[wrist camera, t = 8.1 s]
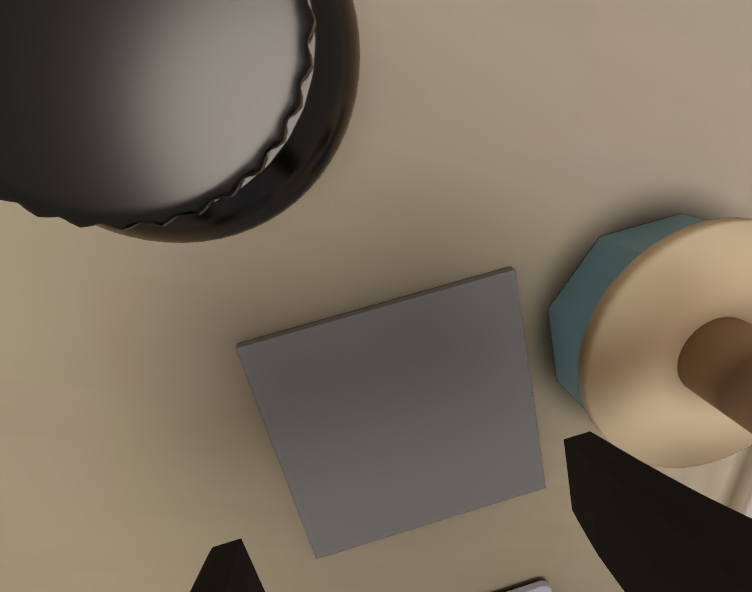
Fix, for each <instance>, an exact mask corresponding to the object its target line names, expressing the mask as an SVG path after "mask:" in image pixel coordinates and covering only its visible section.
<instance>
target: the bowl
mask: <svg viewBox="0 0 752 592" xmlns="http://www.w3.org/2000/svg"><path fill="white" fill-rule="evenodd" d="M703 221H706V220H703V219H699V218H696V217H692V216H688V215H685V214H678V215H675V216H671V217H668V218H664V219H661V220H657V221H654V222H650V223H647V224H643V225H639V226H636V227H632V228H629V229H625V230H622V231H618V232H615V233H611V234H607V235H604V236H600V237H599V239H598V240H597V242H596V243H595V244H594V246H593V247H592V249H591V250H590V251H589V253H588V254H587V256H586V257H585V258H584V260H583V261H582V263H581V264H580V265H579V267H578V268H577V270H576V271H575V272H574V274H573V275H572V277H571V278H570V279H569V281H568V282H567V283H566V285H565V286H564V288H563V289H562V290H561V292H560V293H559V295H558V296H557V297H556V299H555V300H554V302H553V303H552V304H551V306H550V307H549V309H548V311H549V319H550V327H551V336H552V344H553V353H554V361H555V369H556V378H557V381H558V382H559V383H560V384H561V385H562V386H563V387H564V388H565V389H566V390H567V391H568V392H569V393H570V394H571V395H572V396H573V397H574V398H575V400H576V401H577V402H578V403H579V404H580V405H581V406H582V407H583V408H584V406H583V403H582V399H581V396H580V392H579V385H578V359H579V352H580V347H581V343H582V339H583V336H584V332H585V330H586V327H587V325H588V322H589V320H590V317H591V315H592V313H593V312H594V310H595V308H596V306H597V304H598V302H599V301H600V299H601V297H602V296H603V295H604V293H605V292H606V290H607V289H608V287H609V286H610V285H611V283H612V282H613V281H614V280H615V279H616V278H617V276H618V275H619V274H620V273H621V272H622V271H623V269H624V268H626V267H627V266H628V265H629V264H630V263H631V262H632V261H633V260H634V259H635V258H636V257H637V256H639V255H640V254H641V253H642V252H644V251H645V250H646V249H648V248H649V247H650V246H652V245H653V244H655V243H656V242H658V241H660V240H661V239H663V238H665V237H666V236H668V235H670V234H672V233H674V232H676V231H678V230H681V229H683V228H685V227H687V226H690V225H694V224H697V223H700V222H703ZM584 409H585V408H584Z"/></svg>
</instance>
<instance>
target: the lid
mask: <svg viewBox="0 0 752 592" xmlns="http://www.w3.org/2000/svg"><path fill="white" fill-rule="evenodd" d="M578 385H579V392H580V396H581V399H582V403H583V406H584V408H585V410H586V412H587V414H588V416H589V418H590V420H591V421H592V422H593V424H594V425H595V426H596V428H597V429H598V430H599V431H600V432H601V433H602V434H603V435H604V436H605V437H606V438H607V439H608V440H609V441H610V442H611V443H612V444H613V445H614V446H616V447H618V448H619V449H621V450H623V451H625V452H626V453H628V454H630V455H631V456H633V457H635V458H637V459H638V460H640V461H642V462H644V463H645V464H648V465H652V466H656V467H664V468H685V467H693V466H699V465H703V464H708V463H712V462H715V461H717V460H720V459H723V458H726V457H728V456H730V455H733V454H735V453H737V452H739V451H741V450H743V449H745V448H746V447H748V446H750V445H752V219H749V218H740V217H732V218H718V219H713V220H708V221H703V222H700V223H697V224H694V225H690V226H687V227H685V228H683V229H681V230H678V231H676V232H674V233H672V234H670V235H668V236H666V237H665V238H663V239H661V240H660V241H658V242H656V243H655V244H653V245H652V246H650V247H649V248H648V249H646V250H645V251H644V252H642V253H641V254H640V255H639V256H637V257H636V258H635V259H634V260H633V261H632V262H631V263H630V264H629V265H628V266H627V267H626V268H624V269H623V271H622V272H621V273H620V274H619V275H618V276H617V278H616V279H615V280H614V281H613V282H612V283H611V285H610V286H609V287H608V289H607V290H606V292H605V293H604V295H603V296H602V297H601V299H600V301H599V302H598V304H597V306H596V308H595V310H594V312H593V313H592V315H591V317H590V320H589V322H588V325H587V327H586V330H585V332H584V336H583V339H582V343H581V347H580V352H579V359H578Z"/></svg>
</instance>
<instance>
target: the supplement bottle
mask: <svg viewBox="0 0 752 592" xmlns="http://www.w3.org/2000/svg"><path fill="white" fill-rule="evenodd" d="M359 65H360V46H359V32H358V24H357V16H356V11H355V7H354V2H353V0H0V200H4V201H10V202H16V203H18V204H20V205H21V206H22V207H24V208H25V209H26V210H28V211H29V212H31V213H32V214H34V215H35V216H37V217H60V218H63V219H65V220H67V221H68V222H69V223H71V224H74V225H76V226H78V227H89V226H95V225H96V226H99V227H101V228H104V229H106V230H109V231H112V232H115V233H119V234H122V235H125V236H129V237H134V238H139V239H143V240H149V241H158V242H171V243H190V242H204V241H210V240H216V239H221V238H225V237H229V236H233V235H237V234H239V233H242V232H245V231H247V230H250V229H253V228H255V227H257V226H259V225H261V224H263V223H265V222H267V221H269V220H271V219H272V218H274V217H275V216H277V215H279V214H280V213H282V212H283V211H285V210H286V209H287V208H289V207H290V206H291V205H293V204H294V203H295V202H296V201H297V200H299V199H300V198H301V197H302V196H303V195H304V194H305V193H306V192H307V191H308V190H309V189H310V188H311V187H312V186H313V184H314V183H315V182H316V181H317V180H318V179H319V178H320V176H321V175H322V173H323V172H324V171H325V169H326V168H327V166H328V165H329V164H330V162H331V160H332V158H333V157H334V155H335V153H336V151H337V150H338V148H339V146H340V144H341V141H342V139H343V137H344V135H345V132H346V130H347V127H348V124H349V121H350V118H351V115H352V111H353V107H354V103H355V99H356V94H357V87H358V80H359Z"/></svg>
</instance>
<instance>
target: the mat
mask: <svg viewBox="0 0 752 592" xmlns="http://www.w3.org/2000/svg"><path fill="white" fill-rule="evenodd" d="M236 349H237V352H238V355H239V357H240V360H241V363H242V365H243V368H244V370H245V373H246V376H247V378H248V381H249V384H250V386H251V389H252V391H253V394H254V397H255V399H256V402H257V405H258V407H259V410H260V412H261V415H262V418H263V420H264V423H265V426H266V428H267V431H268V433H269V436H270V439H271V441H272V444H273V447H274V449H275V452H276V454H277V457H278V460H279V462H280V465H281V468H282V470H283V473H284V475H285V478H286V481H287V483H288V486H289V489H290V491H291V494H292V496H293V499H294V502H295V504H296V507H297V510H298V512H299V515H300V517H301V520H302V523H303V525H304V528H305V531H306V533H307V536H308V538H309V541H310V544H311V546H312V549H313V552H314V554H315V557H316V559H318V558H322V557H325V556H328V555H331V554H334V553H338V552H341V551H344V550H347V549H350V548H354V547H357V546H360V545H363V544H366V543H370V542H373V541H376V540H379V539H383V538H386V537H389V536H392V535H395V534H399V533H402V532H405V531H408V530H411V529H415V528H418V527H421V526H424V525H427V524H431V523H434V522H437V521H440V520H443V519H447V518H450V517H453V516H456V515H459V514H463V513H466V512H469V511H472V510H475V509H479V508H482V507H485V506H488V505H491V504H495V503H498V502H501V501H504V500H507V499H511V498H514V497H517V496H520V495H523V494H527V493H530V492H533V491H536V490H539V489H543V488H546V485H545V477H544V470H543V463H542V456H541V449H540V442H539V435H538V428H537V421H536V414H535V406H534V399H533V392H532V385H531V378H530V371H529V364H528V357H527V350H526V343H525V336H524V328H523V321H522V314H521V307H520V300H519V293H518V286H517V279H516V272H515V269H514V268H512V267H508V268H504V269H501V270H497V271H494V272H490V273H486V274H483V275H479V276H476V277H472V278H469V279H465V280H462V281H458V282H455V283H451V284H447V285H444V286H440V287H437V288H433V289H430V290H426V291H423V292H419V293H416V294H412V295H409V296H405V297H401V298H398V299H394V300H391V301H387V302H384V303H380V304H377V305H373V306H370V307H366V308H362V309H359V310H355V311H352V312H348V313H345V314H341V315H338V316H334V317H331V318H327V319H324V320H320V321H316V322H313V323H309V324H306V325H302V326H299V327H295V328H292V329H288V330H285V331H281V332H277V333H274V334H270V335H267V336H263V337H260V338H256V339H253V340H249V341H246V342H242V343H239V344H237V347H236Z"/></svg>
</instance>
